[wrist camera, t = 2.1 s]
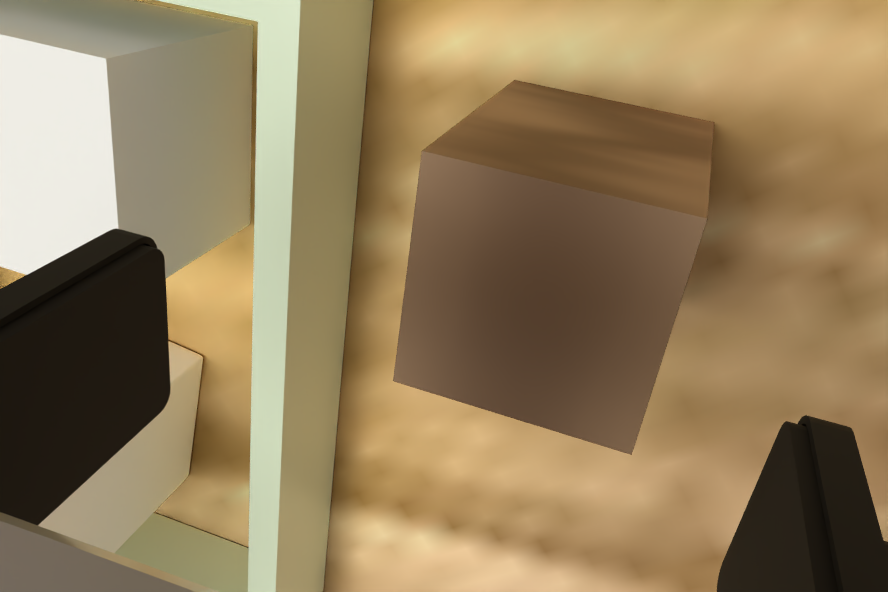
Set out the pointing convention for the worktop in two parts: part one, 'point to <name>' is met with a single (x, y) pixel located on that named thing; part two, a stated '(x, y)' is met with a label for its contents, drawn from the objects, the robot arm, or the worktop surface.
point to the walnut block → (553, 258)
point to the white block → (121, 128)
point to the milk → (137, 468)
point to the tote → (289, 297)
